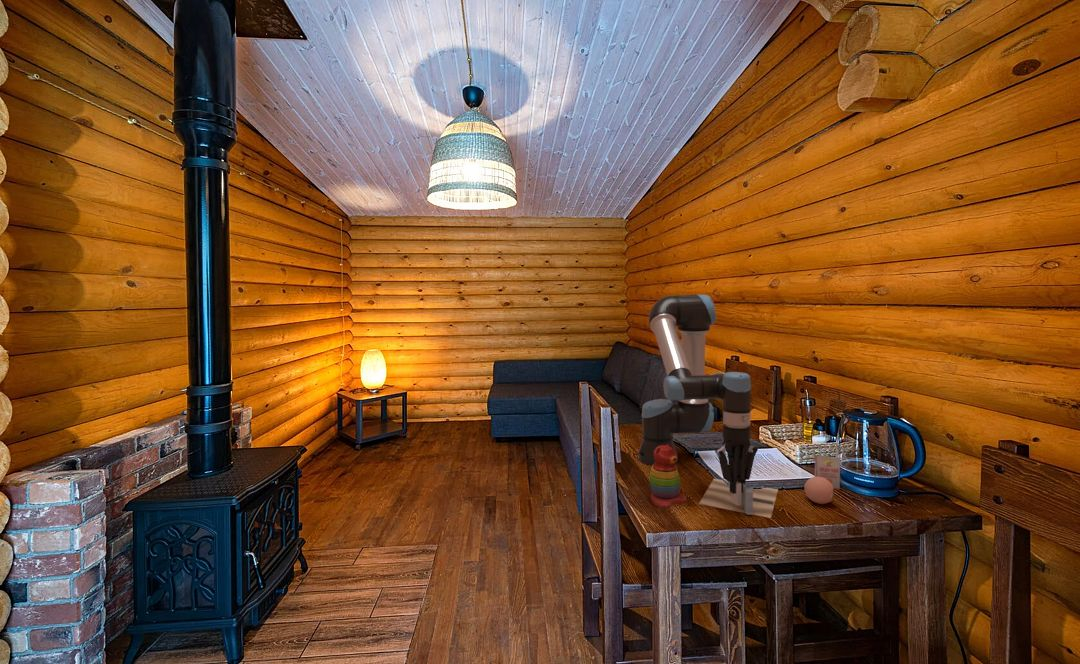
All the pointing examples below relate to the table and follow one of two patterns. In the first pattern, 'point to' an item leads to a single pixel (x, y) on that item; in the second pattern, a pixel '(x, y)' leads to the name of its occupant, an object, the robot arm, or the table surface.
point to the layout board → (722, 498)
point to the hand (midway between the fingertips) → (736, 503)
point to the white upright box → (828, 469)
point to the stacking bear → (665, 478)
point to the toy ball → (819, 490)
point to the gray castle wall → (747, 500)
